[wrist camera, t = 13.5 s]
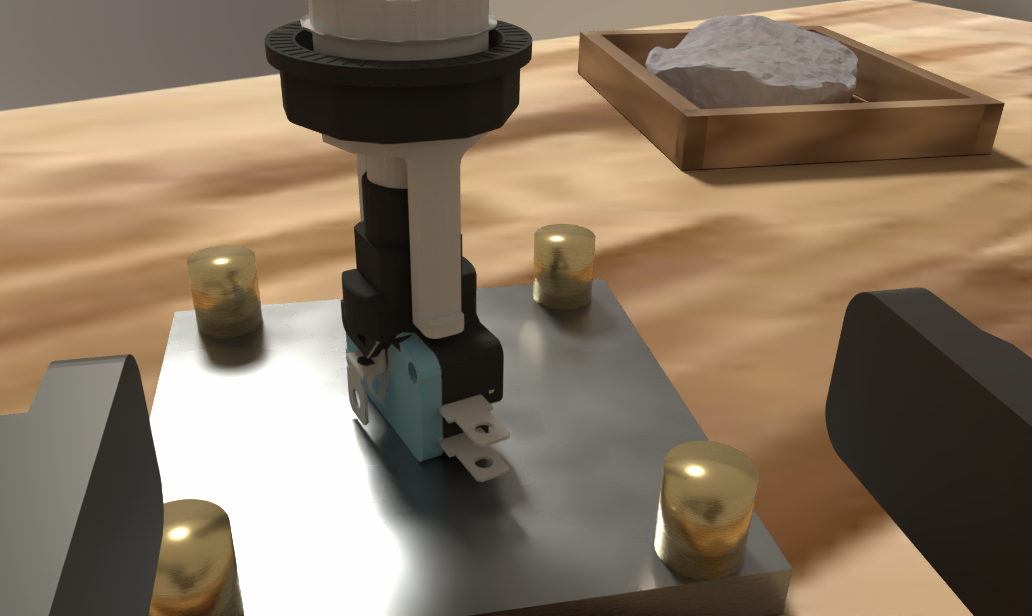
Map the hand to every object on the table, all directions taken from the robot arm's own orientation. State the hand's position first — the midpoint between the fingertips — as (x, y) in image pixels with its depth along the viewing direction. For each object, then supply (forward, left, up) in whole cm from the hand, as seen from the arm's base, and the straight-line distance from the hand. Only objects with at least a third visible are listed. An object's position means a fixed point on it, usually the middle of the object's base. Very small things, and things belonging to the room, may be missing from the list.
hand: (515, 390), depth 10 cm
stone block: (+22, +39, -9) cm, 46 cm away
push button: (0, +10, -7) cm, 13 cm away
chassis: (0, +10, -8) cm, 13 cm away
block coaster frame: (+22, +38, -8) cm, 45 cm away
